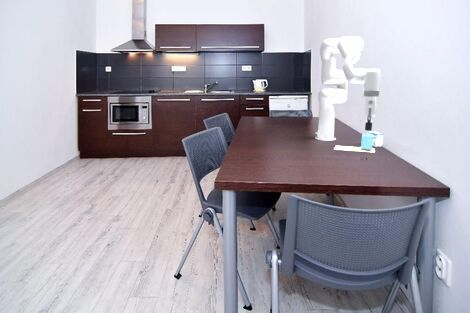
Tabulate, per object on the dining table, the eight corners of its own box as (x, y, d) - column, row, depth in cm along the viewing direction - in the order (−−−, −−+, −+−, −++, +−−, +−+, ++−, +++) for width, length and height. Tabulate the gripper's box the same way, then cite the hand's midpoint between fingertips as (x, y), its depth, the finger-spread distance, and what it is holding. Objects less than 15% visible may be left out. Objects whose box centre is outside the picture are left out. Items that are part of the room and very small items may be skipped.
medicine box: (365, 146, 213) (367, 131, 211) (372, 146, 214) (373, 131, 213) (375, 149, 206) (377, 133, 204) (382, 148, 207) (383, 133, 205)
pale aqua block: (360, 148, 195) (361, 136, 194) (361, 146, 200) (362, 134, 198) (372, 149, 193) (373, 136, 192) (372, 147, 198) (373, 135, 197)
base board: (333, 152, 197) (333, 149, 196) (335, 148, 208) (335, 145, 207) (374, 155, 190) (374, 152, 190) (374, 150, 201) (374, 148, 201)
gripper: (379, 94, 182) (376, 132, 186) (378, 93, 196) (375, 128, 200) (363, 94, 185) (360, 131, 189) (363, 93, 199) (360, 128, 202)
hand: (368, 130), depth 194 cm, fingers closed
